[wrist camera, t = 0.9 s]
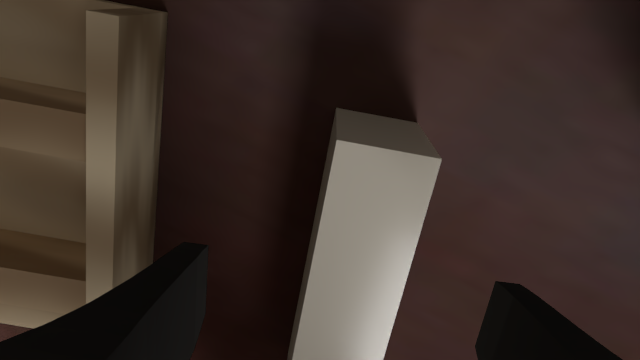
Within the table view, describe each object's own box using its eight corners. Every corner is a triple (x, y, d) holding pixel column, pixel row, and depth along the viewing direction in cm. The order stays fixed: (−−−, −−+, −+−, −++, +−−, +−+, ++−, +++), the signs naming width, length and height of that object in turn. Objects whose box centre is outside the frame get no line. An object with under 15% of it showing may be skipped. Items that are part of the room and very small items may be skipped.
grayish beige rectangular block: (354, 358, 25) (358, 442, 20) (288, 347, 24) (278, 429, 20) (416, 121, 20) (441, 159, 15) (336, 106, 20) (336, 139, 15)
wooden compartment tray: (148, 335, 24) (109, 406, 20) (-48, 303, 24) (-130, 368, 20) (168, 12, 18) (118, 16, 14) (-91, -38, 18) (-221, -49, 14)
